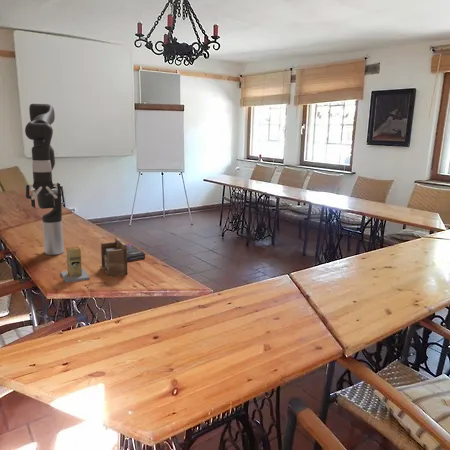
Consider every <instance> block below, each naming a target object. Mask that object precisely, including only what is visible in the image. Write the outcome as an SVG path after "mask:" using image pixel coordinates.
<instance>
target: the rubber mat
mask: <svg viewBox="0 0 450 450" xmlns="http://www.w3.org/2000/svg"><path fill="white" fill-rule="evenodd" d="M60 275H61V277H62V278H63V281H64V283H66V284H68V283H74V282H81V281H88V280H90V279H91V278H90V276H89V274H88V272H87V271H86V270H85V269H84V268H82V275H81V276H74V277H70V276H69V274H68V270H63V271H60Z"/></svg>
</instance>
